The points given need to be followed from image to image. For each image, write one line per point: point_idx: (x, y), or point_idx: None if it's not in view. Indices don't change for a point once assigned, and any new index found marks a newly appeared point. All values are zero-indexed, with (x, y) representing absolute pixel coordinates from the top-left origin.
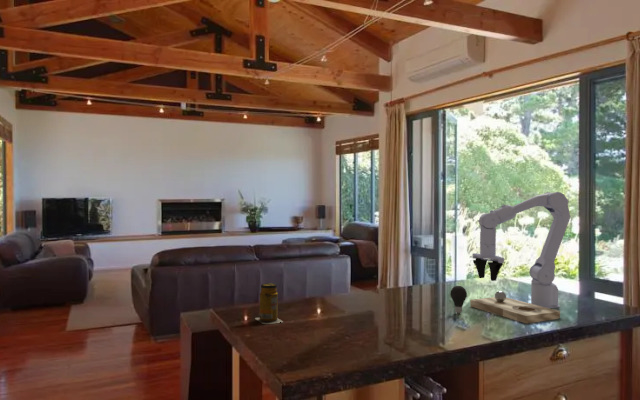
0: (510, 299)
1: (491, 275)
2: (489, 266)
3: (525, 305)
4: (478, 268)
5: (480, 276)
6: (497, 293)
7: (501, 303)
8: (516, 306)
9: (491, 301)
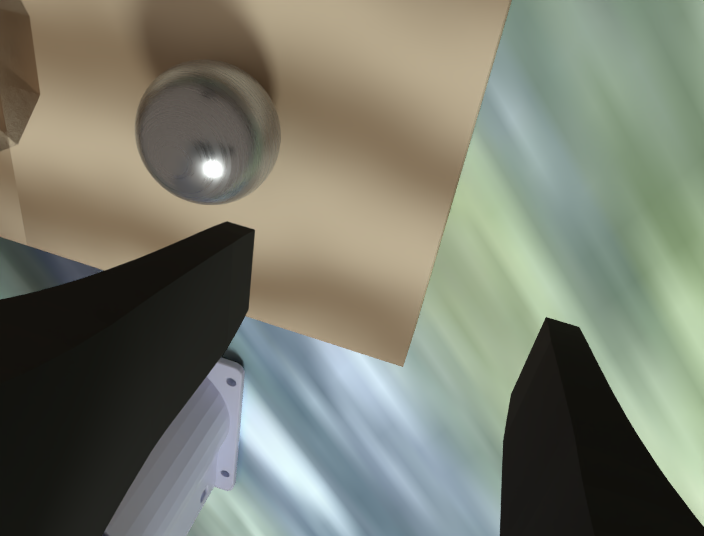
0: (264, 293)
1: (165, 253)
2: (16, 360)
3: (30, 159)
4: (582, 461)
5: (545, 345)
6: (185, 93)
7: (172, 36)
8: (14, 37)
9: (300, 34)
